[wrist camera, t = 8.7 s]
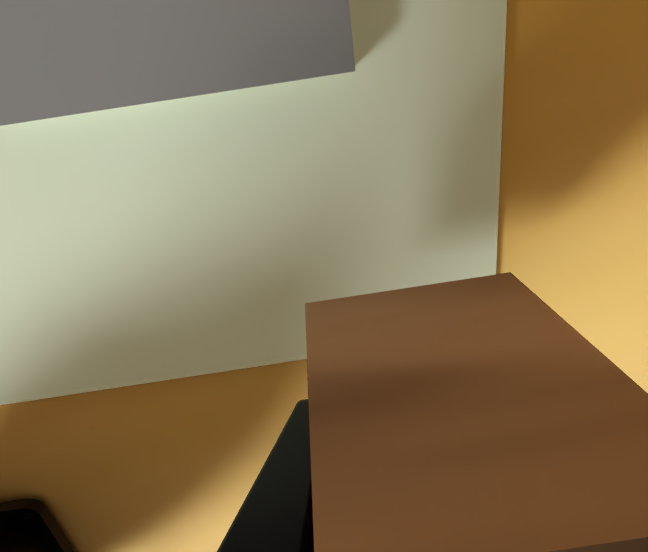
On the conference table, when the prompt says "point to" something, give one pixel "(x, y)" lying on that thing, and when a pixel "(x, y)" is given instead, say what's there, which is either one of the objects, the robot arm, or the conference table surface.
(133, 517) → the conference table surface
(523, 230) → the conference table surface
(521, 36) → the conference table surface
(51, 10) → the tile
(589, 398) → the block
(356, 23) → the mat
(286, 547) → the robot arm
